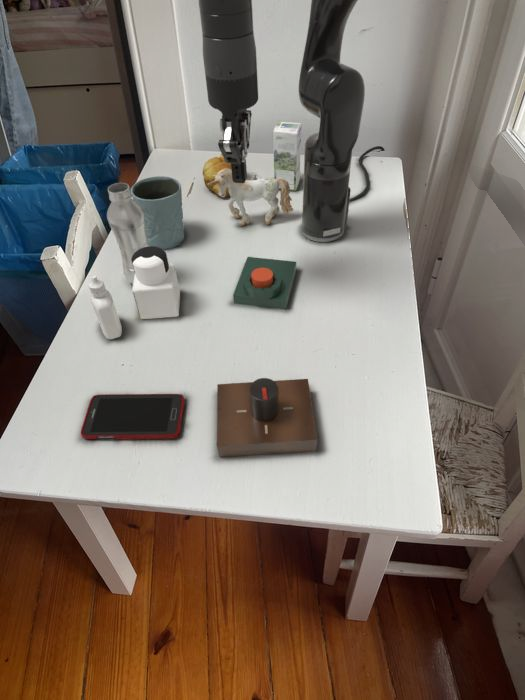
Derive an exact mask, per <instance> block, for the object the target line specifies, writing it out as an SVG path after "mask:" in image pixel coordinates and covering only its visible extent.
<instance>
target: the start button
mask: <svg viewBox="0 0 525 700" xmlns="http://www.w3.org/2000/svg"><path fill="white" fill-rule="evenodd" d="M251 278H252V284H253V286H255V287H257V288H266V287H270V286H271V285H272V284H273V272H272V271H271V270H270V269H268V268H257V269H255V270H254V271H253V272H252V274H251Z"/></svg>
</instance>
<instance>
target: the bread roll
mask: <svg viewBox="0 0 525 700" xmlns="http://www.w3.org/2000/svg"><path fill="white" fill-rule="evenodd" d="M225 168H228V169H230V170H232V169H231V163H226V161H225V159H224V157H223V155H222V153H220V155H219V157H218V156H214V157H212V158H209V159H208V160H206V161H205V162H204V165H203V167H202V176H203V182H204V186H205V187H206V188H207V189H208V190H210V191H211V192H214V193H215V194H216V195H217V196H219V188H218V186H217V185H216V184H213V185H208V183H211V182H213V181H215V179H216V178H215V177H213V176H212V175H217V173H218V172H219V171H221V170H223V169H225ZM225 192H226V195H225V197H228V196H229V197H230V194H229V188H228V186H227V187H226V190H225Z"/></svg>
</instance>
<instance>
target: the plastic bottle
mask: <svg viewBox="0 0 525 700" xmlns="http://www.w3.org/2000/svg"><path fill="white" fill-rule="evenodd" d="M107 193H108V199H109V201H110V204H109V206H108V208H107V211H106V220H107V222H108V225H109V227H110V229H111V231H112V233H113V235H114V237H115V240H116V242H117V245H118V248H119V251H120V256H121V260H122V272H123V275H124V277H125V279H126V281H127V282H128V283H130V284H131V285H133V282H134V276H135V272H134V268H133V265H132V261H131V258H132V256H133V254H134V253H135V252H136V251H137V250H139V249H141V248H144V247H149V245H148V240H147V235H146V228H145V217H144V212H143V210H142V208H141V207H140V205H139V204H138V203H137V202H135V201H134V200H133V198H132V193H131V187H130V185H129V184H128V183H126V182H115V183H113V184H111V185H109V186H108V187H107Z"/></svg>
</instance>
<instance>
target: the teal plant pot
mask: <svg viewBox="0 0 525 700" xmlns="http://www.w3.org/2000/svg"><path fill="white" fill-rule="evenodd" d="M130 191H131V193H132V198H131V199H133V200H134V201H135V202H137V203H138V204H139V205H140V207H141V208H142V210H143V212H144V217H145V228H146V235H147V240H148V245H149V246H155V247H159V248H161V249H163V250H168V249H172V248H175V247H177V246H179V245H180V244H181V243H182V242H183V241H184V240H185V227H184V222H183V219H184V212H183V202H182V201H183V195H182V184H181V183H180V181H179V180H177V179H175V178H173V177H170V176H166V175H165V176H164V175H161V176H159V175H158V176H151V177H146V178H142V179H141V180H139V181H137V182H135V183H134V184H133V185H132V186H131V187H130Z"/></svg>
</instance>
